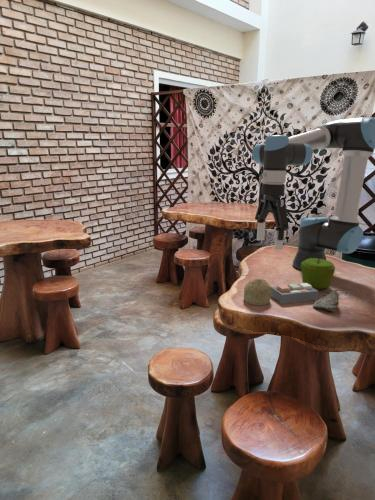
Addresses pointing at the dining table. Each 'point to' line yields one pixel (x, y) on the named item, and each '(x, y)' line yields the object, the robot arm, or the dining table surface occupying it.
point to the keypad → (294, 295)
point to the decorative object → (257, 292)
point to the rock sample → (328, 302)
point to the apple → (317, 272)
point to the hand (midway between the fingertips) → (268, 244)
